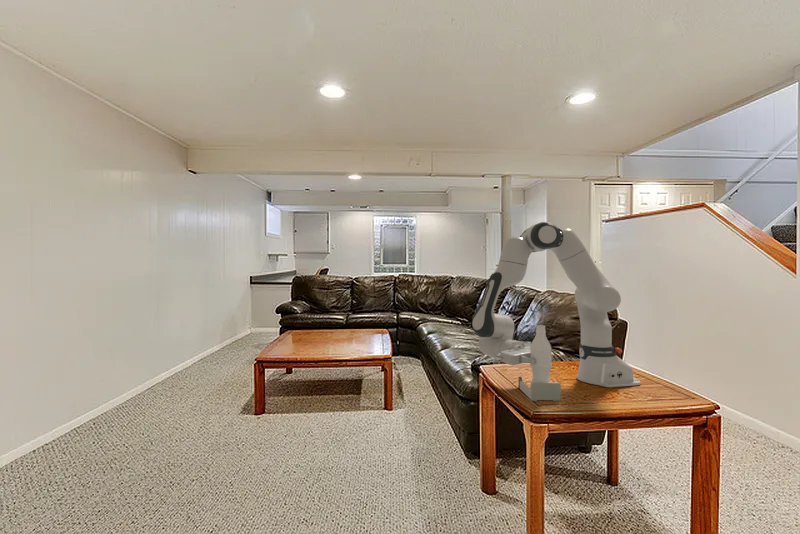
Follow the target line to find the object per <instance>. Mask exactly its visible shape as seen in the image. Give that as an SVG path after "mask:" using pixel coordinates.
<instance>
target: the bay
mask: <svg viewBox="0 0 800 534" xmlns="http://www.w3.org/2000/svg"><path fill="white" fill-rule="evenodd" d="M530 385H531V389H530V386H528V385H527V384H526V383H525V381H523V377H522V376H518V388H519V389H520V390H521V391H522V392H523V394H525V395H526V396H527V397H528V398H529V400H530V401H532V402H535V401H536V402H538V401H537V400H553V401H552V402H554V401H555V402H561V398H562V397H561V395H562V393H561V392H562V391H561V382H555V381H552V382H551V381H550V383H530Z"/></svg>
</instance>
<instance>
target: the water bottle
mask: <svg viewBox="0 0 800 534" xmlns="http://www.w3.org/2000/svg"><path fill="white" fill-rule="evenodd" d="M535 326H536V327H535V328H536V329H535V337H534V338H533V339H532V341H531V346H530V358H535V359H536V363H535V364H530V363H529V365H530V368H531V373H532V380H531V383H551V381H550V373H551V370H552V367H553V366H552V365H553V364H552V360H551V355H552V345H551V344H550V341H549V340H548V338H547V335H546V333H547V331H546V325H545V324H536V325H535ZM531 383H530V384H529V388H530V389H531Z"/></svg>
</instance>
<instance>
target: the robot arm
mask: <svg viewBox="0 0 800 534" xmlns="http://www.w3.org/2000/svg"><path fill="white" fill-rule="evenodd" d="M521 233H522V234H521V235H519V236H511V237H510V236H509V237H508V238H507V239H506V240H505V243H504V245H503V247H502V250H501V252H500V257H499V260H498V263H497V264H498V265H497V267H496V269H495V271H494V272H493V273H492V274H491V275H490V276H489V278H488V280H487V283H486V285H485V288H484V291H483V293H482V296H481V300H480V302H479V305H478V308H477V310H476V312H475V314H474V315H473V318H472V322H471V327H472V330H473V331H474V333H475V334H476V336H477V337H479V339H478V348H479V350H480V352H481V353H482V354H483V355H485V356H487V357H489V358H491V359H495V360H500V362H502V363H504V364H507V365H510V366H517V365H520V364H529V365H530V364H535V363H536V359H535V358H530V346H531V343H532V341H524V340H523V341H522V340H521V341H520V340H516V339H514V335H515V331H516V325H515V322H514V319H513V317H511V316H509V315H508V314H507V315H506V314H501V313H494V310H495V307H496V304H497V301H498V299H499V295H500V293H502V291H503V290H505V289H506V288H509V287H513V286H515V285H516V286H517V285H518V284H519V283H521V282H522V281H523V280H524V278H525V276H526V272H527V268H528V263H529V262H528V261H529V257H530V256H531V254H532V253H537V252H543V251H546V250H550V251H552V252H553V253H554V255H555V256H556V258H557V259H558V262H559V263H560V265H561V267H562V269H563V270H564V272H565V274H566V276H567V278H568V279H569V280H570V281H571V282H572V283H573V284H574V287H576V289H575V290H574V294H573V295H574V299H575V301H576V305H577V312H578V317H579V325H580V343H579V358H580V359H579V366H578V371H577V374H576V376H575V377H576V379H577V380H578V381H581V382H583V383H587V384H591V385H595V386H596V385H597V386H601V387H604V388H605V387H606V388H619V387H630V386H631V387H633V386H641V385H642V384H641V381H640V379H638V378H636V377H634V372H633V369H632V368H633V367H632V366H631V365H629V364H628V363H627V362H626V361H624V360H623V359H622V358H620V357H619V356H618V355H617V353H618V354H622V353H623V350H622V348H620V347H615V346H613V344H612V342H613V339H612V337H613V333H612V331H613V330H612V329H613V328H612V327H613V326H612V324H611V322H610V320H609V316H608V313H609V312H614V310H615V311H616V310H617V309H618V308H619V306H620V304H621V301H622V297H621V294H620V292H619V291H618V290H617V289H616V288H615V287H614V286H613V285H612V284H611V283H610V281H609V280H608V279H607V277H605V275H604V274H603V273H602V271H601V270H600V269H599V268H598V267H597V265H596V263H594V260H593V258H592V256H591V255H590V253H589V252H588V249H587V248H586V246H585V245H584V243H583V241H582V240H581V239H580V237H579V236H578V234H577V233H576V232H575V231H574V230H572V229H571V228H559V227H557V226H556V225H555V224H553V223H551V222H548V221H542V222H538V223H535V224H533V225H531V226H529V227H528V228H527V229H525V230H524V231H523V232H521ZM552 360H553V355H552V354H551V361H552Z"/></svg>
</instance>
